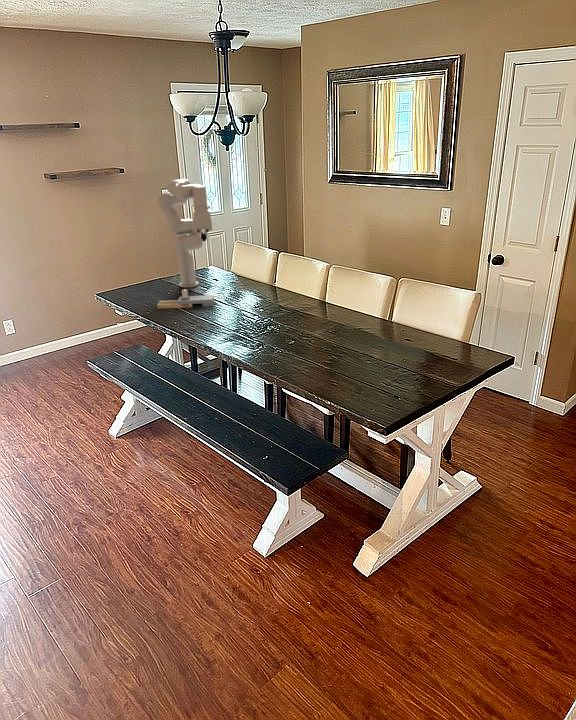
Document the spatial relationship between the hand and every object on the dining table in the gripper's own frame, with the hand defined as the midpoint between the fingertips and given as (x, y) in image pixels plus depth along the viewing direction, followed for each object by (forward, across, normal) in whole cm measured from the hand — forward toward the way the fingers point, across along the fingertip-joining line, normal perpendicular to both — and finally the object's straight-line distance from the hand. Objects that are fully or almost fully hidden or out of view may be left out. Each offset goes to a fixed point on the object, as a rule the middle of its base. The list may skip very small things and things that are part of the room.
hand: (204, 240), depth 316 cm
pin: (+33, +12, +17) cm, 39 cm away
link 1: (+33, +18, +17) cm, 41 cm away
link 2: (+33, +6, +17) cm, 38 cm away
